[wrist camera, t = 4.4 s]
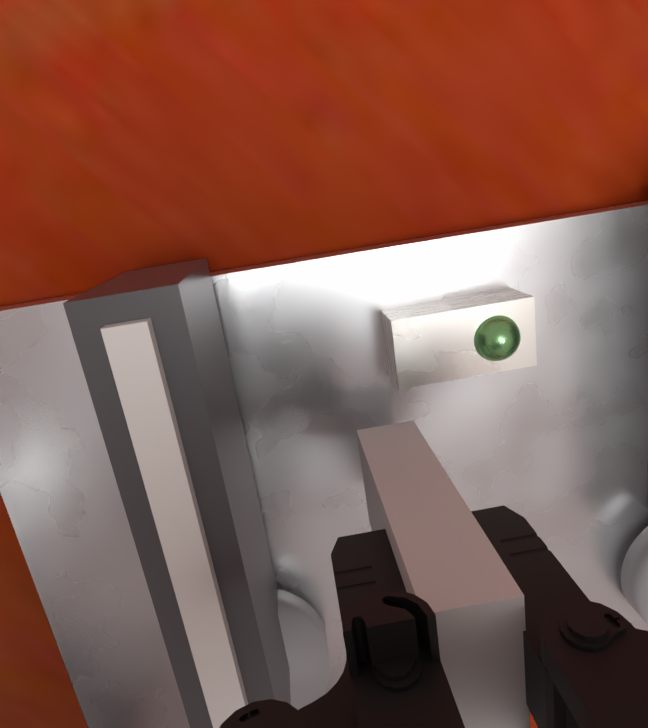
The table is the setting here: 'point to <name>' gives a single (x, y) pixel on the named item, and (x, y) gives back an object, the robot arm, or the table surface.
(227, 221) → the table surface
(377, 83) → the table surface
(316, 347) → the base plate
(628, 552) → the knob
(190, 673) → the grey bar piece
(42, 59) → the table surface
